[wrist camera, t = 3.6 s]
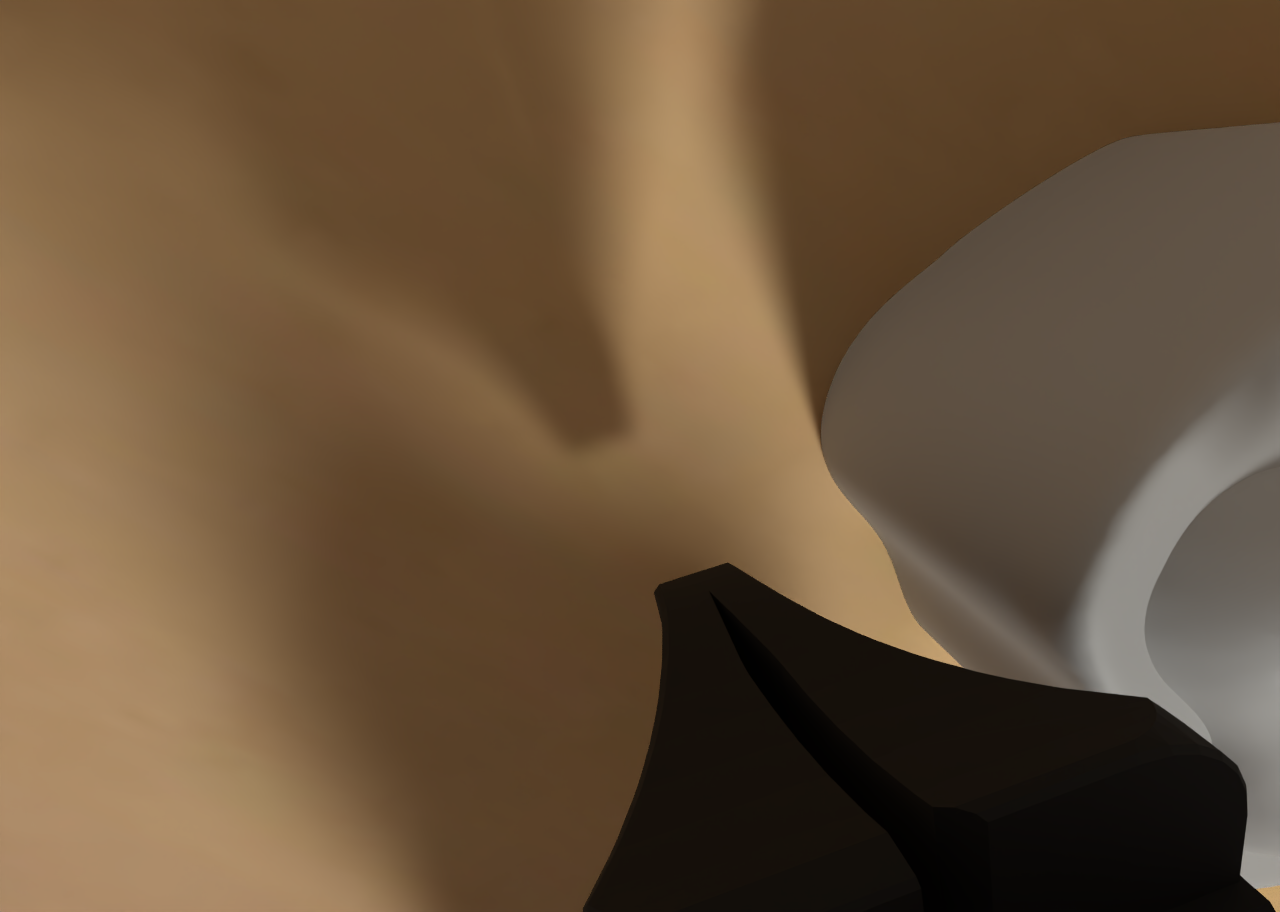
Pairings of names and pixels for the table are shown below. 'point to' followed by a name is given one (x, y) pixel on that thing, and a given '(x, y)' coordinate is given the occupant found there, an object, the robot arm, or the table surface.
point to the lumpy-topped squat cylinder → (1096, 441)
